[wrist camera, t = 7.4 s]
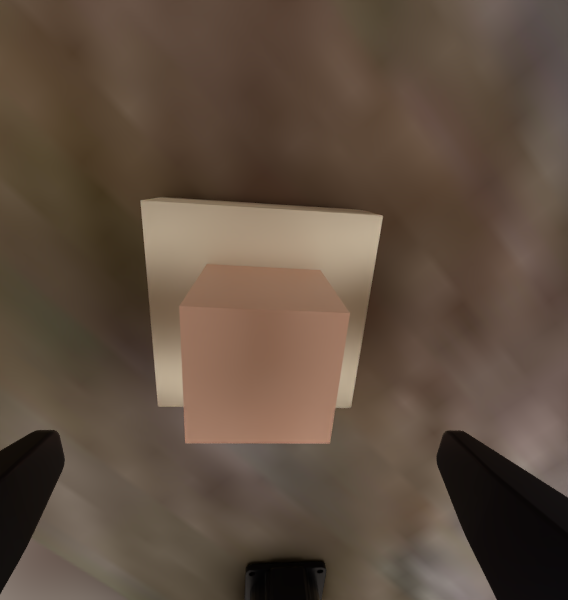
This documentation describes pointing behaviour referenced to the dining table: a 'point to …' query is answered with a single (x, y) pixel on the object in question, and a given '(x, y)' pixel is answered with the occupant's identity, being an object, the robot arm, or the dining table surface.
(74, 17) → the dining table surface
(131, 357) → the dining table surface
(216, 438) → the cube
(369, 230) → the base
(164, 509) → the dining table surface
